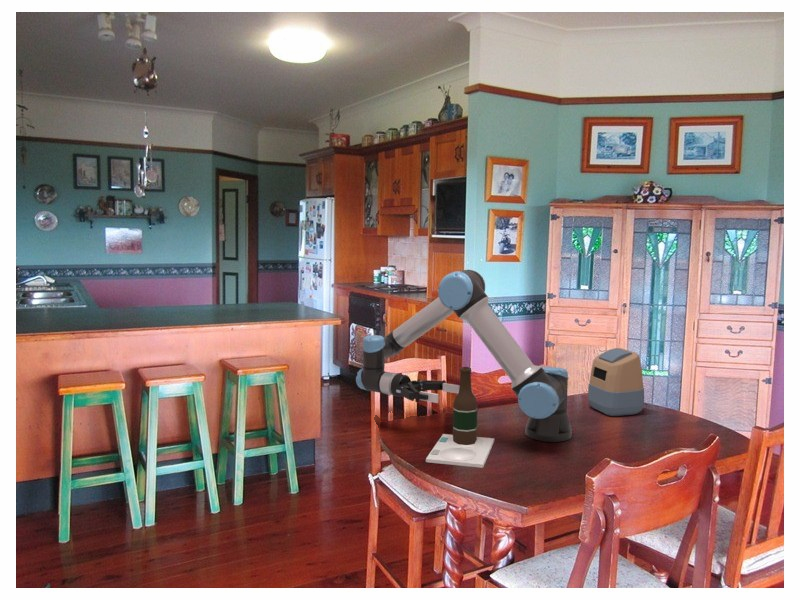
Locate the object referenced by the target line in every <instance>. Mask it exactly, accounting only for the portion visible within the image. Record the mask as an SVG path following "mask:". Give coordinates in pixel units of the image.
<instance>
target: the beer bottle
mask: <svg viewBox="0 0 800 600" xmlns="http://www.w3.org/2000/svg"><path fill="white" fill-rule="evenodd" d="M459 372H460V373H459V375H460V377H459V385H460V388H459V393H458V394H457V395H456V396H455V398H454V400H453V403H452V404H453V406H452V435H453V441H454V442H455V443H457V444H461V445H471V444H475V442H476V440H477V437H478V401H477V399H476V396H475V395H474V393H473V390H472V375H471V373H472V368H471V367H469V366H462V367H460V368H459Z"/></svg>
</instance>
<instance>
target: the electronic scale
mask: <svg viewBox="0 0 800 600" xmlns="http://www.w3.org/2000/svg"><path fill="white" fill-rule="evenodd" d="M494 443H495V438H491V437H482V436H477V440H476V442H475V444H471V445H461V444H457V443H455V442H454V441H453V434H448V433H442V435H441V437H440V438H439V439H438V441H437V442H436V443H435V445H434V446H433V448H432V450H431V451H430V452H429V453H428V455H427V456H426V458H425V462H426V463H432V464H441V465H451V466H459V467H460V466H461V467H468V468H469V467H470V468H479V469H480V468H481V469H483V468H484V467H485V465H486V462H487V459H488V457H489V455H490V453H491V450H492V447H493V445H494Z"/></svg>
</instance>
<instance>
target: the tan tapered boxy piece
mask: <svg viewBox="0 0 800 600" xmlns="http://www.w3.org/2000/svg"><path fill="white" fill-rule="evenodd" d="M640 358H641V357H640V354H639V353H637V352H635V351H631V350H628V349H625V348H621V347H614V348H610V349H607V350H606V351H604V352H603V353H601V354H598V355H597V356H595V357H594V359H593V362H592V365H591V370H590V375H589V376H590V377H589V383H588V387H587V388H588V390H587V401H588V404H589V405H590V406H591V408H593V409H594V410H597V411H598V412H601V413H602V414H604V415H605V416H609V417H622V416H631V415H632V416H633V415H637V414H639V413H641V411H642V410H643V408H644V406H645V388H644V380H643V368H642V363H641V359H640Z"/></svg>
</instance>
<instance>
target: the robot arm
mask: <svg viewBox="0 0 800 600" xmlns="http://www.w3.org/2000/svg"><path fill="white" fill-rule="evenodd" d="M437 295H438V297H437V298H436V299H434V300H433V301H431V302H429V304H427V305H425V306H424V307H423V308H422V309H420V310H419V311H418V312H416V313H415V314H414V315H412V316H411V317H410V318H408V319H407V320H406V321H404V322H403V323H401V324H400V325H399V326H398V327H396V328H395V329H394V330H392V331H391V332H389V333H388V334H387V335H386V336H382V335H377V334H372V335H366V336H364V337H363V339H362V340H363V341H362V368H360V369H359V370H358V371H357V372H356V376H355V383H356V385H357V387H358V388H360V389H361V390H364V391H368V392H372V393H373V392H374V393H380V394H383V395H388V397H390V396H394V397H399V398H404V399H406V400H409V401H410V402H413V401H414V402H415V403H419V402H420V401H424V402H428V403H429V402H430V403H435V404H439V394H438V393H433V392H428V391H442V392H445V393H453V394H457V395H458V393H459V388H460V384H454V383H453V384H452V383H447V381H446V380H444V379H443V380H431V379H429V380H427V379H421V378H419V379H417V380H412V379H411V378H410V376H408V375H407V374H400V373H396V372H390V371H385V360H387V359H389V358H391V357H395V356H397V355H398V354H400V353H401V352H402V351H403V350H404V349H405V348H406V347H408V346H409V345H410V344H412V343H413V342H415V341H416V340H418V339H419V338H421V336H423V335H425V334H426V333H427V332H429V331H430V330H431V329H433V328H434V327H435V326H437V325H439V324H440V323H442V321H443V322H444V320H445V319H447V318H448V317H449V316H451V315H453V314H454V313H455V315H456V316H457V318H458V319H459V320H464V321H466V322H467V323H468V324H469V326H470V327H471V329H472V330H473V331H474V333H475V334H476V335H477V336H478V338H479V339H480V340H481V342H482V343H483V344H484V346H485V347H486V349H487V350H488V351H489V353H490V354H491V355H492V356H493V358H494V359H495V361H496V362H497V364H498V365H499V366H500V367H501V368H502V369H503V372H504V373H505V375H506V376H507V377H508V378H509V379H510V381H511V385H510V389H511V390H512V391H513V392H514V394H515V396H517V402H518V406H519V408H520V410H521V411H522V412H523V414H524V415H526V416H528V419H527V422H526V425H525V430H524V432H525V435H526V437H528V438H530V439H532V440H536V441H539V442H547V443H548V442H549V443H550V442H551V443H559V442H566V441H568V440H570V439H571V438H572V437H573V436H572V434H573V432H572V431H573V429H572V426H571V423H570V420H569V416H568V383H569V381H568V380H569V372H568V371H567V369H565V368H563V367H562V368H561V367H555V366H554V367H553V366H541V365H535V364H534V363H533V362H532V360H531V359H530V358H529V357H528V355H527V353H525V351H524V350H523V349H522V347H521V346H520V345H519V343H518V342H517V341H516V340H515V338H514V337H513V336H512V334H511V333H510V332H509V331H508V329H507V327H505V325H504V323H503V322H502V321H501V320H500V318H499V317H498V316H497V315H496V314H495V311H494V310H493V309H492V307H490V305H489V296H488V295H487V294H486V282H485V280H484V277H483V276H482V275H481V274H480V273H479V272H477V271H475V270H473V269H464V270H460V271H459V270H457V271H452V272H450V273H448V274H447V275H445V276H443V278H442V279H441V280H440V282H439V284H438V289H437Z"/></svg>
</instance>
